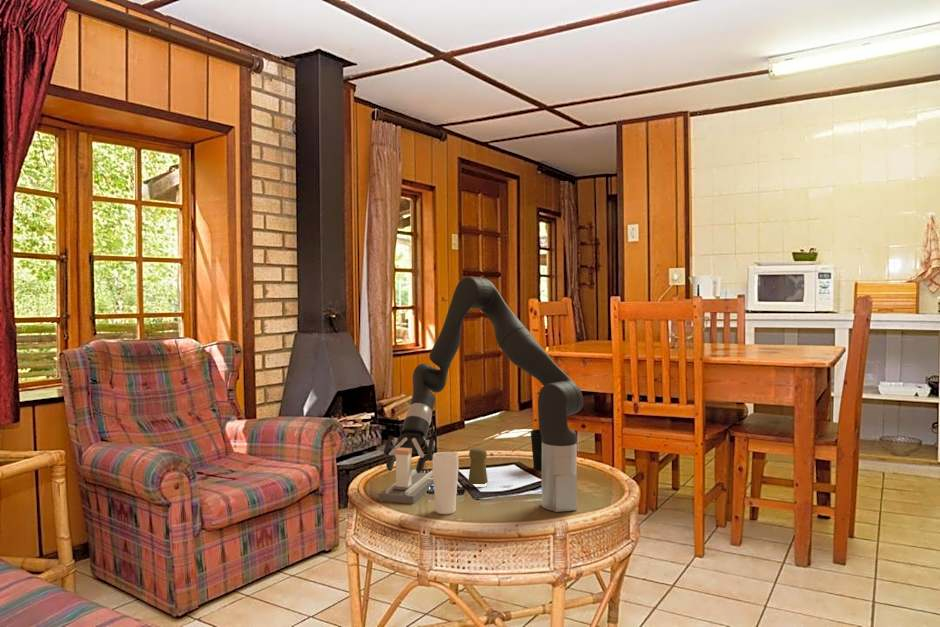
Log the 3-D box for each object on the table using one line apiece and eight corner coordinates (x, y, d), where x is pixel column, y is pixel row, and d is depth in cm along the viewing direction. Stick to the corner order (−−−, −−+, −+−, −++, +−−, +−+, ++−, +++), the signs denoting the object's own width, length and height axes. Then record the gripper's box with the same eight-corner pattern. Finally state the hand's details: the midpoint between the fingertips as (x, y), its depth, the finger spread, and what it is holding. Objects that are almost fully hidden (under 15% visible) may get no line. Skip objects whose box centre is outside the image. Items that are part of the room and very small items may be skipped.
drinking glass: (430, 515, 181) (430, 457, 181) (435, 507, 188) (434, 451, 187) (456, 516, 180) (456, 458, 180) (460, 508, 187) (460, 452, 186)
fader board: (408, 478, 216) (408, 468, 216) (440, 480, 214) (440, 470, 214) (378, 500, 193) (378, 490, 193) (413, 503, 191) (413, 492, 191)
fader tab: (399, 485, 200) (399, 447, 200) (412, 486, 199) (412, 447, 199) (394, 489, 196) (394, 450, 196) (408, 490, 195) (407, 451, 195)
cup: (525, 468, 229) (525, 431, 228) (541, 464, 234) (541, 428, 233) (543, 472, 223) (543, 435, 222) (559, 468, 228) (559, 431, 227)
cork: (488, 488, 206) (488, 450, 205) (467, 488, 206) (467, 450, 205) (488, 482, 212) (488, 446, 211) (467, 482, 212) (467, 445, 212)
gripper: (391, 413, 207) (376, 461, 197) (437, 416, 204) (424, 465, 193) (397, 428, 213) (383, 475, 202) (443, 430, 209) (430, 479, 198)
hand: (403, 470), depth 198 cm, fingers open, 8 cm apart
